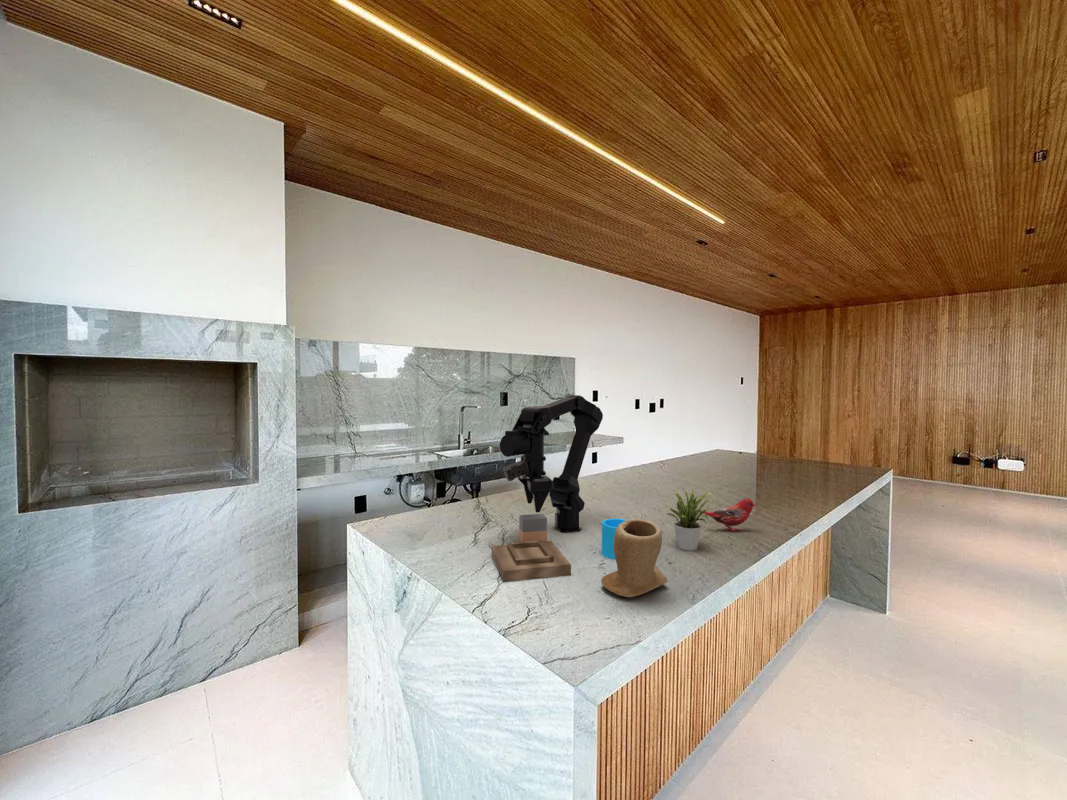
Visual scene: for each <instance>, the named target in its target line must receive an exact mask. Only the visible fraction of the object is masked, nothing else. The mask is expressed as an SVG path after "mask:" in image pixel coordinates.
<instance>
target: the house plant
mask: <svg viewBox="0 0 1067 800" xmlns="http://www.w3.org/2000/svg"><path fill="white" fill-rule="evenodd" d="M681 489H682V490H683V492H684V494H685V497H686V503H685V504H684V501H683V498H682V496H681V495H680V494H679V493H678V492H677V491H675V490H674V489H673V490H672V491H673V492H674V494H675V496H676V499H677V502H676V507H675V508H676V509H677V510H675V509H673V508H671V507H666V508H667V509H668V510H670V511H671V512H672V513H674V514H672V513H671V512H669V513H667V515H668V516H672V517H674V518H675V519H676V520H677V521H675V522H674V523H673V526H674V532H675V539H676V546H677V548H678V549H681V550H684V551H691V552H692V551H696V550H698V545H699V541H700V537H701V532H702V531H701V530H702V525H701V524H700V523H698V522H697V521H703V522H706V520H705V519H704V518H706V519H709V515H706V514H703V513H705V511H706V512H707V510H711V509H712V508H709V507H708V508H705V509H703V510H702V508H703V507H704V506H705V505H706V504H707V503H708V502H709V501H716V499H714V498H711V499H710V498H709V499H706V500H704V498H706V497H707V496H709V495H711V494H713V492H707V493H704V494H703V495H702V496H698V495H697V496H696V497H695V493H694V491H693V489H691V490H690V492H689V494H690V496H689V495H688V492H687V491H686V490H685V488H683V487H681ZM664 496H666V497H668V498H669V495H666V494H664ZM697 498H698V499H697ZM702 500H704V502H703V503H701V502H702ZM700 503H701V504H700ZM699 505H700V506H699ZM698 506H699V507H698ZM700 511H702V512H701V513H700ZM700 517H704V518H700ZM678 518H679V519H678Z"/></svg>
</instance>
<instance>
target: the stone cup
mask: <svg viewBox="0 0 1067 800" xmlns="http://www.w3.org/2000/svg"><path fill="white" fill-rule="evenodd" d="M625 520H626V521H624V522H622V523H621V524H619V525H618V527H617V528H616V531H615V536H614V555H615V559H616V560H615V563H616V567H617V570H615V571H612V572H610V573H608V574H605V575H604V576H602V577H601V578H600V582H601V585H602V586H603V587H604V588H605V589H607V591H609V592H611V593H613V594H615V595H617V596H621V597H625V598H633V597H638V596H640V595H644V594H646V593H649V592H651V591H652V590H655V589H656V588H658V587H661V586H663V585H665V584H667V583H668V582H669V580H668V578H667V576H666V574H664V572H662V570H661V569H659V567H658V566H657V565H656V564H657V560H658V558H659V555H660V553H661V550H662V544H663V538H662V531H661V528H660V527H659V526H658V525H657V524H656V523H654V522H652V521H651V520H648V519H643V518H628V519H625Z"/></svg>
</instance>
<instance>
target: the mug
mask: <svg viewBox="0 0 1067 800" xmlns="http://www.w3.org/2000/svg"><path fill="white" fill-rule="evenodd" d="M626 520H627V519H623V518H607V519H604V520H603V521H602V522H601V555H602V556H603V557H604V558H607V559H610V560H615V561H616V559H615V555H614V536H615V531H616V528H617V527H618V525H619V524H621V523H622V522H624V521H626Z"/></svg>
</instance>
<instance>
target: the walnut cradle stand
mask: <svg viewBox="0 0 1067 800" xmlns="http://www.w3.org/2000/svg"><path fill="white" fill-rule="evenodd" d="M491 557H492V560H493V561H494V564H495V566H496V569H497V571H498V573H499V576H500V578H501V580H502V582H503V583H505V582H514V581H515V582H516V581H526V580H534V579H535V580H536V579H546V578H553V577H555V578H556V577H563V576H571V575H572V564H571V563H570V561H569V560H568V559H567V558H566V557H565V556H564V554H563V552H561V550H560V549H559V548H558V547H557V546H556V545H555V544H554V542H553V541H552V540H547V541H545V542H542V541H541V540H540V541H528V542H520V541H519V542H517V541H516V542H507V543H506V544H499V545H491Z"/></svg>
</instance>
